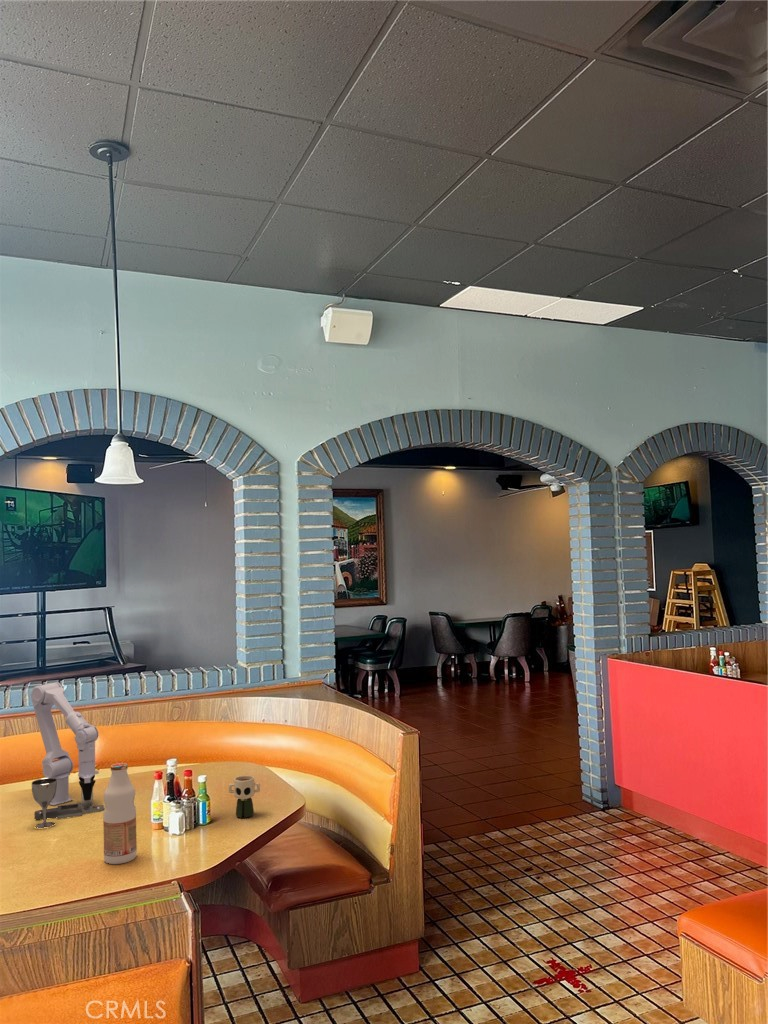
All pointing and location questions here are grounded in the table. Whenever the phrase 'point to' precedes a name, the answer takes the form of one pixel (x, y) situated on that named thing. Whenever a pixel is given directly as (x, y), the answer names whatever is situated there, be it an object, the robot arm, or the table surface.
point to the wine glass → (44, 796)
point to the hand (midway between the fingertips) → (87, 797)
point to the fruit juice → (119, 817)
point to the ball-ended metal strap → (67, 811)
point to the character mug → (244, 794)
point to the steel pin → (87, 802)
